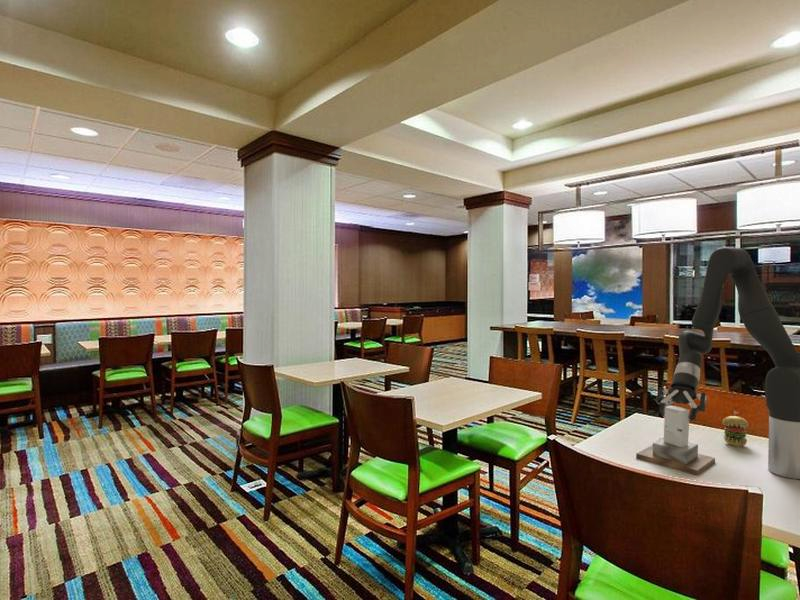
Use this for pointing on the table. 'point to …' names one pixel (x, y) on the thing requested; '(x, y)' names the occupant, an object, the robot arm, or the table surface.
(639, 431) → the table surface
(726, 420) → the hamburger
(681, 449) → the display stand
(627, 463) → the table surface
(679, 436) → the skincare box
